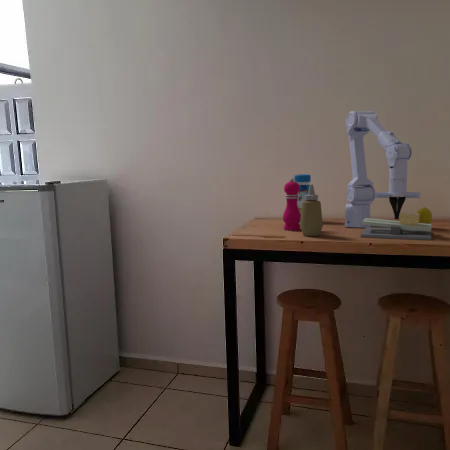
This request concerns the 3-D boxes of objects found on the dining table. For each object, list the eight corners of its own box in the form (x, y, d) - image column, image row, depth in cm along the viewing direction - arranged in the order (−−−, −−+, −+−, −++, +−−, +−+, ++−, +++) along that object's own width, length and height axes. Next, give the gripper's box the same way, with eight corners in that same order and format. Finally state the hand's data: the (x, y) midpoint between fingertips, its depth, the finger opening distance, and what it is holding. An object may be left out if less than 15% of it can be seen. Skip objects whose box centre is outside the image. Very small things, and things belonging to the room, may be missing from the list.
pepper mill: (303, 228, 179) (303, 176, 176) (298, 231, 173) (298, 177, 170) (285, 227, 182) (285, 177, 179) (280, 230, 176) (279, 178, 173)
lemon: (433, 229, 168) (434, 207, 167) (417, 229, 169) (417, 208, 168) (429, 227, 173) (430, 206, 172) (414, 227, 174) (414, 206, 173)
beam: (361, 227, 160) (362, 221, 159) (364, 224, 168) (365, 217, 167) (430, 234, 151) (431, 228, 151) (430, 230, 159) (431, 224, 159)
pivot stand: (360, 237, 157) (360, 226, 156) (366, 229, 171) (366, 220, 171) (431, 240, 148) (431, 229, 148) (430, 232, 163) (430, 222, 162)
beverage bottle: (316, 222, 194) (316, 174, 191) (297, 223, 192) (297, 175, 189) (307, 219, 202) (307, 174, 199) (289, 220, 200) (289, 174, 197)
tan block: (399, 226, 157) (400, 213, 156) (399, 224, 161) (401, 212, 161) (417, 228, 155) (419, 215, 154) (418, 226, 159) (419, 213, 158)
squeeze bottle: (321, 237, 158) (321, 185, 156) (297, 236, 161) (297, 185, 159) (324, 233, 166) (324, 183, 163) (302, 232, 169) (302, 183, 166)
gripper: (374, 180, 156) (373, 219, 158) (420, 180, 150) (419, 221, 153) (376, 179, 163) (375, 217, 165) (421, 178, 157) (419, 218, 159)
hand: (396, 218), depth 159 cm, fingers closed
